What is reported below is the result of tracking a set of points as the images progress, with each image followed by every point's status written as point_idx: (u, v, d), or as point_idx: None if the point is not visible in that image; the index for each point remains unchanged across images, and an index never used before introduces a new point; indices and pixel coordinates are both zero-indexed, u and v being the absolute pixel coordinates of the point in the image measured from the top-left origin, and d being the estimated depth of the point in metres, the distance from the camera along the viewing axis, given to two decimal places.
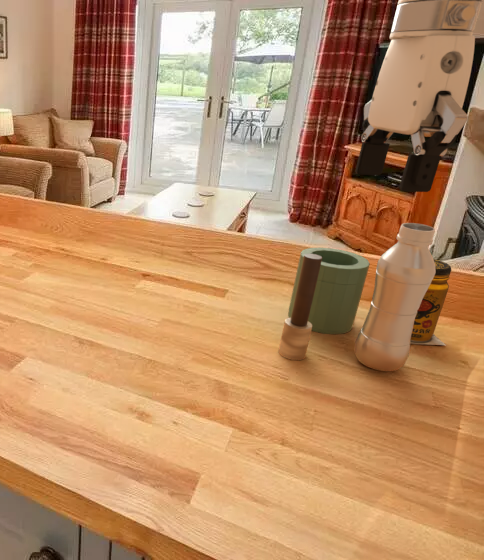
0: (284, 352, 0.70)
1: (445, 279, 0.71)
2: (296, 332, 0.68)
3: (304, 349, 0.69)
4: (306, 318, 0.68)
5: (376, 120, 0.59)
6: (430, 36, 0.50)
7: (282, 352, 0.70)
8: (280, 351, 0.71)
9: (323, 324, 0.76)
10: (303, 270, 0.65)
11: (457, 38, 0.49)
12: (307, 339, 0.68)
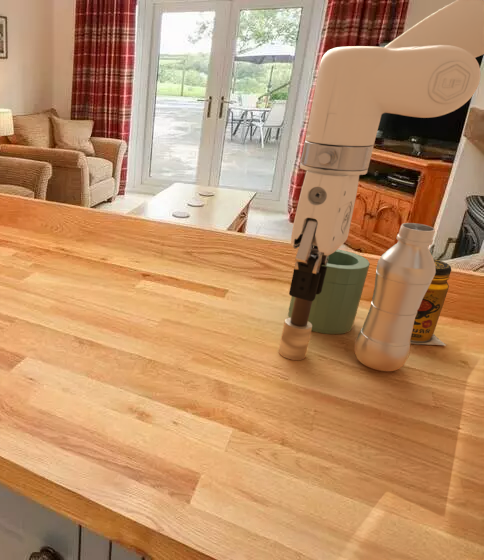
0: (284, 352, 0.70)
1: (445, 279, 0.71)
2: (296, 332, 0.68)
3: (304, 349, 0.69)
4: (306, 318, 0.68)
5: None
6: (307, 171, 0.59)
7: (282, 352, 0.70)
8: (280, 351, 0.71)
9: (323, 324, 0.76)
10: None
11: (322, 176, 0.57)
12: (307, 339, 0.68)
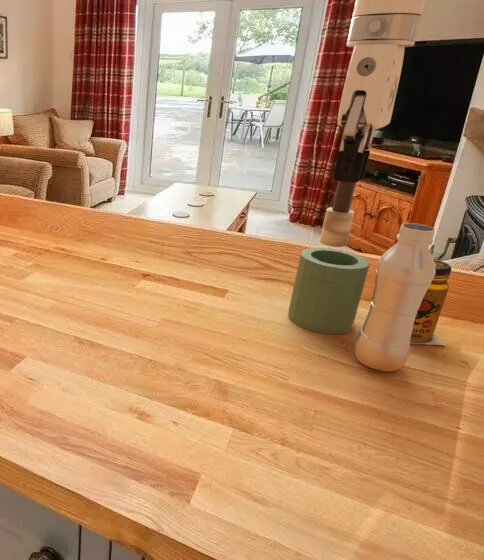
0: (326, 240, 0.72)
1: (445, 279, 0.71)
2: (339, 217, 0.70)
3: (346, 235, 0.71)
4: (349, 203, 0.69)
5: None
6: None
7: (324, 241, 0.72)
8: (322, 240, 0.72)
9: (323, 324, 0.76)
10: None
11: (372, 46, 0.59)
12: (349, 225, 0.70)
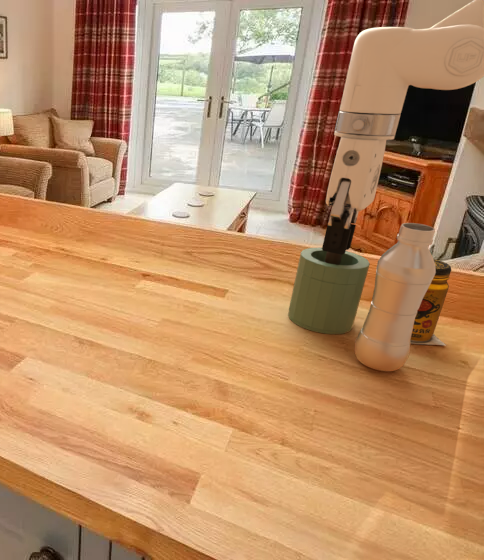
0: None
1: (445, 279, 0.71)
2: None
3: None
4: None
5: None
6: (341, 137, 0.68)
7: None
8: None
9: (323, 324, 0.76)
10: None
11: (356, 141, 0.66)
12: None
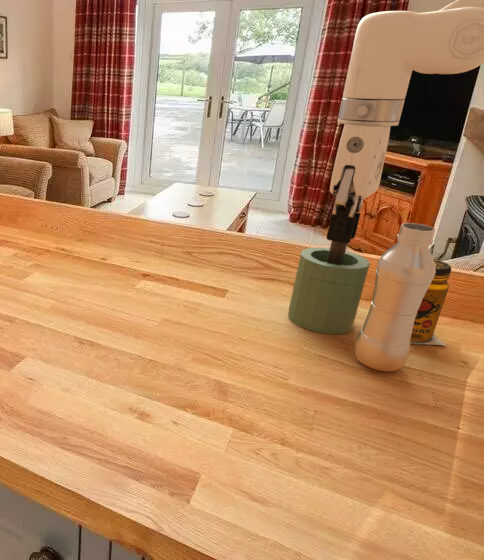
0: None
1: (445, 279, 0.71)
2: None
3: None
4: (341, 260, 0.76)
5: None
6: (345, 124, 0.68)
7: None
8: None
9: (323, 324, 0.76)
10: None
11: (360, 127, 0.66)
12: None
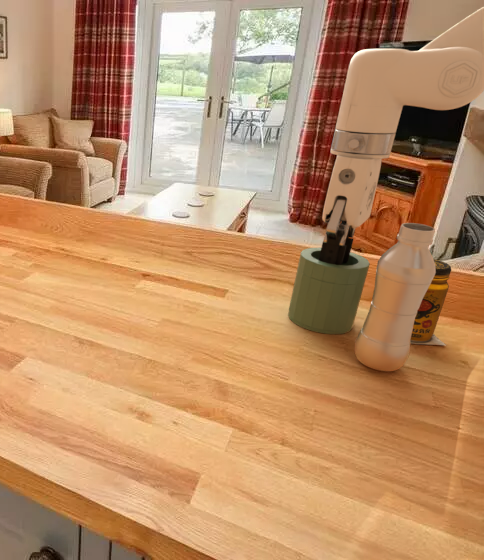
0: None
1: (445, 279, 0.71)
2: None
3: None
4: None
5: None
6: (337, 155, 0.69)
7: None
8: None
9: (323, 324, 0.76)
10: None
11: (351, 160, 0.67)
12: None
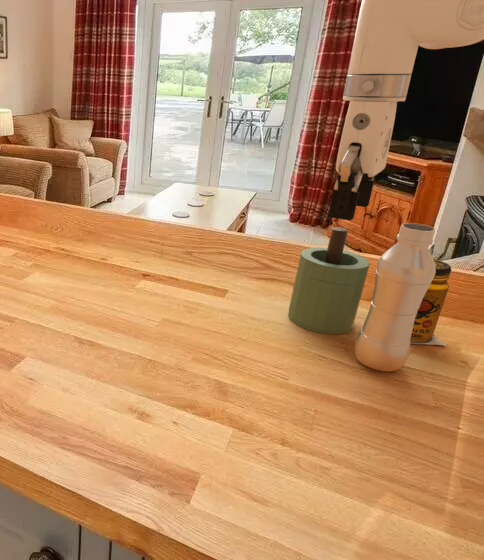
0: None
1: (445, 279, 0.71)
2: None
3: None
4: None
5: None
6: (351, 101, 0.66)
7: None
8: None
9: (323, 324, 0.76)
10: (331, 241, 0.75)
11: (366, 103, 0.64)
12: None
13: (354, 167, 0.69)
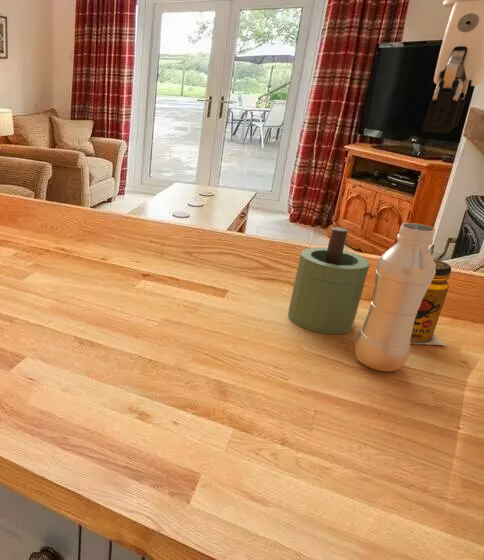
0: None
1: (445, 279, 0.71)
2: None
3: None
4: None
5: None
6: (456, 3, 0.63)
7: None
8: None
9: (323, 324, 0.76)
10: (331, 241, 0.75)
11: (475, 2, 0.61)
12: None
13: None
